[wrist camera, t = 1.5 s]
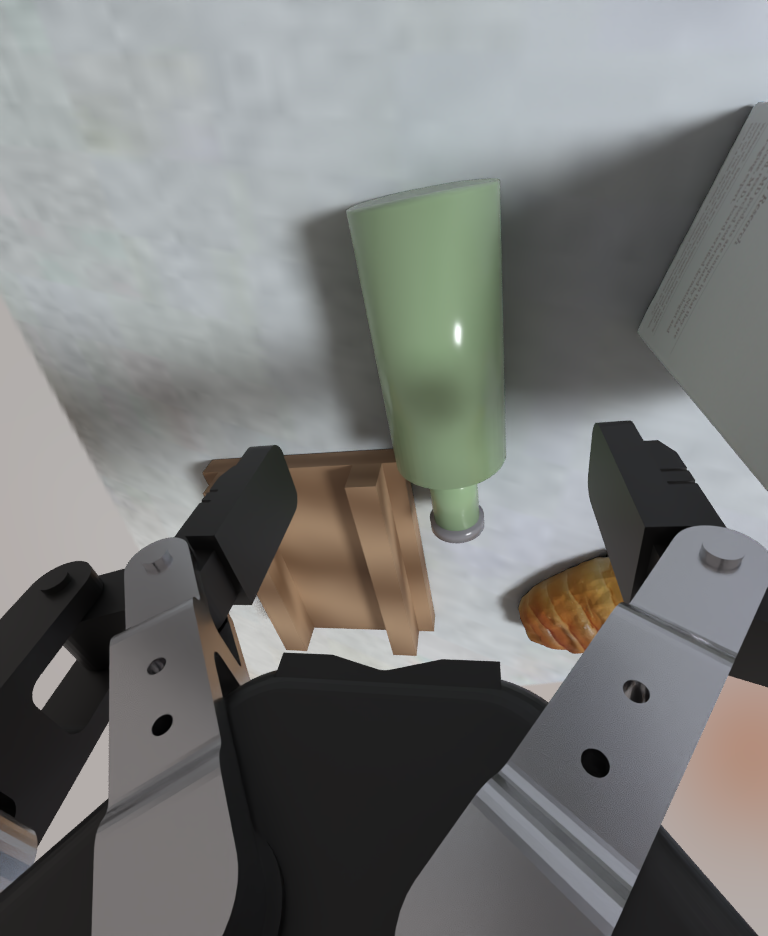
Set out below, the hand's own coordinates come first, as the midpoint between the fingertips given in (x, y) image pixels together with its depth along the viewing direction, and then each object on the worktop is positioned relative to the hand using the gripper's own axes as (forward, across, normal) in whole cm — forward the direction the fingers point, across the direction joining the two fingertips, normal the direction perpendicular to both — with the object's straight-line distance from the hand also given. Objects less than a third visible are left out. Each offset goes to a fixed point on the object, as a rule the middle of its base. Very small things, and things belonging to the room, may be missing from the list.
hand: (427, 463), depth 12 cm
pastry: (+10, -8, +17) cm, 21 cm away
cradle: (+9, +8, +12) cm, 18 cm away
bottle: (+9, 0, +2) cm, 9 cm away
